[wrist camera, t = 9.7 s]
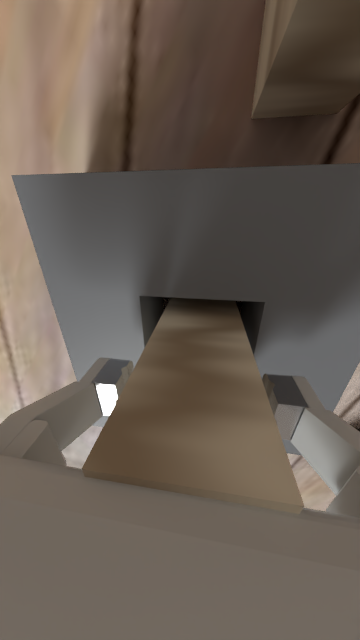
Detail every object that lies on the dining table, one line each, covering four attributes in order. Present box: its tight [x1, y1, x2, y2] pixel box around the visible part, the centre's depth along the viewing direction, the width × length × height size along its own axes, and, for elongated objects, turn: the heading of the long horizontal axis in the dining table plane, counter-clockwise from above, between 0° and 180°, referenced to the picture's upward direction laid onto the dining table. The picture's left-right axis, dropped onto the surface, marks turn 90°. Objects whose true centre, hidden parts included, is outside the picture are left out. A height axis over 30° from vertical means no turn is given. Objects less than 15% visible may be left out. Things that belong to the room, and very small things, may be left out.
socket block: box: [12, 163, 360, 455], centre depth 13 cm, size 16×16×5 cm
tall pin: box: [82, 297, 304, 514], centre depth 10 cm, size 4×4×12 cm
